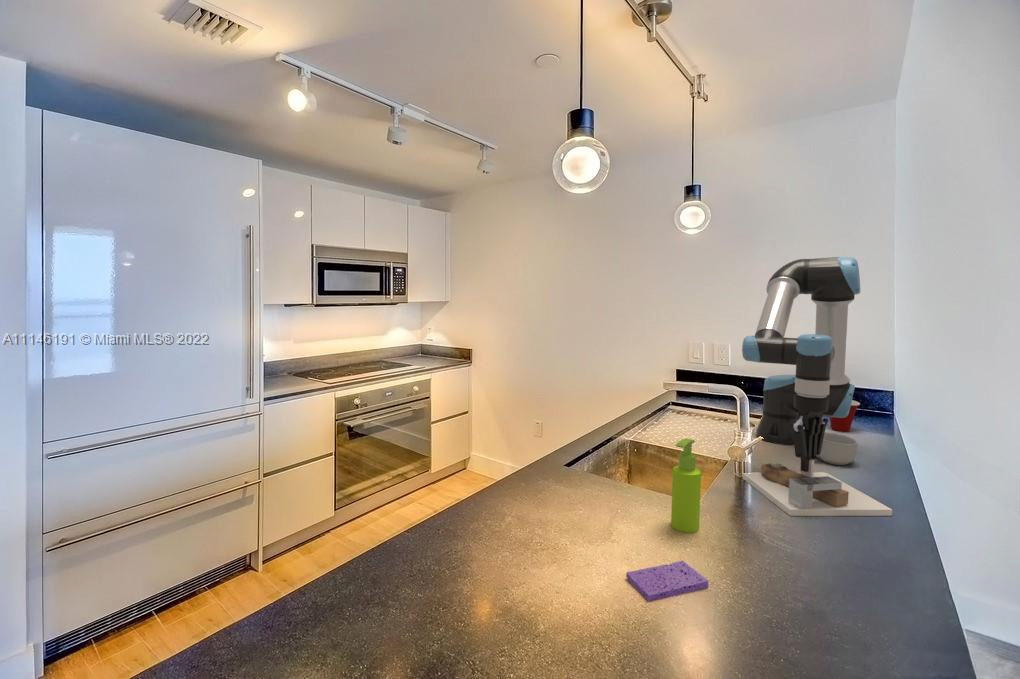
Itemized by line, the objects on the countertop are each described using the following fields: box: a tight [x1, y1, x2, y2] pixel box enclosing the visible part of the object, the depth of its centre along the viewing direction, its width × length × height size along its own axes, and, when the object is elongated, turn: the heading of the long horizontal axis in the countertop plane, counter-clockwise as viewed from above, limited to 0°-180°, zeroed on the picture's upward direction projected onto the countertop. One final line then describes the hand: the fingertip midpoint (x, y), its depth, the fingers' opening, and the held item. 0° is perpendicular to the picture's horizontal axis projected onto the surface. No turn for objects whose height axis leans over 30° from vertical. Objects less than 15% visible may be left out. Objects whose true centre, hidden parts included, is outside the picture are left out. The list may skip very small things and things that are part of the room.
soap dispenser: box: [670, 437, 702, 534], centre depth 104 cm, size 6×7×20 cm
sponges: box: [625, 560, 709, 602], centre depth 84 cm, size 7×13×2 cm, turn 108°
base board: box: [742, 471, 893, 517], centre depth 122 cm, size 24×24×2 cm
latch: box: [760, 462, 849, 507], centre depth 121 cm, size 21×6×4 cm, turn 20°
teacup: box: [817, 431, 859, 466], centre depth 146 cm, size 14×11×8 cm
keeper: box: [788, 476, 843, 509], centre depth 113 cm, size 4×10×7 cm, turn 98°
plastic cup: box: [829, 399, 861, 433], centre depth 181 cm, size 11×11×12 cm
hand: (806, 482), depth 123 cm, fingers closed
